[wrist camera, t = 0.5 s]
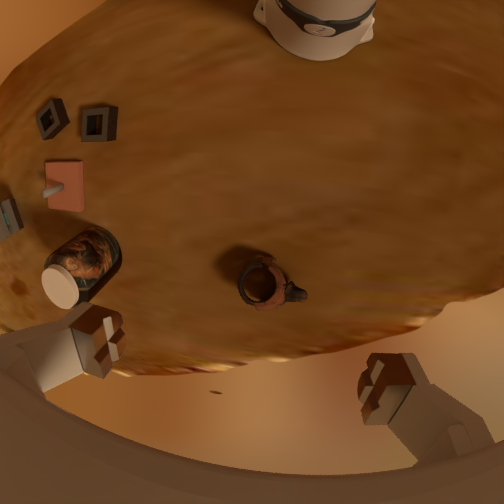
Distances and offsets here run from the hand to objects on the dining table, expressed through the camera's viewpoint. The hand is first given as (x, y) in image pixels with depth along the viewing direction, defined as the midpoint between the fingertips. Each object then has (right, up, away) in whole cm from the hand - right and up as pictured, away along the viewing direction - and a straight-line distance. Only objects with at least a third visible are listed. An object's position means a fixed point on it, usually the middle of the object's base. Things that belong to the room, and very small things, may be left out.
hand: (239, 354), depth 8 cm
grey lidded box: (-63, +12, +44) cm, 78 cm away
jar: (-31, +3, +44) cm, 54 cm away
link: (-26, +26, +33) cm, 49 cm away
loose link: (-39, +30, +32) cm, 59 cm away
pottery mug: (+4, -2, +43) cm, 43 cm away
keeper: (-38, +17, +38) cm, 56 cm away
